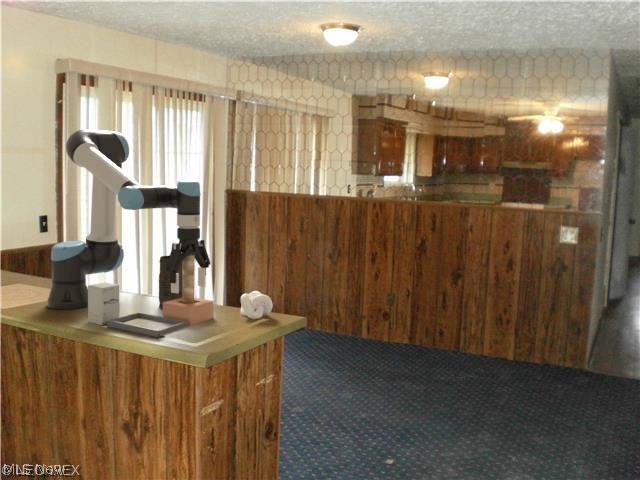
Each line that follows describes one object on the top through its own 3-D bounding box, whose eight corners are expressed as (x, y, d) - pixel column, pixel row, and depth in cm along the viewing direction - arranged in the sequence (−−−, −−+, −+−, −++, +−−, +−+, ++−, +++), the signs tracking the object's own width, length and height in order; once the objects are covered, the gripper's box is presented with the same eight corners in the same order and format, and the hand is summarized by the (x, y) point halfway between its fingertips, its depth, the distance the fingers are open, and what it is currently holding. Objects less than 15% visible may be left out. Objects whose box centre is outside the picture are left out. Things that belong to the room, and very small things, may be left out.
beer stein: (180, 313, 227) (182, 258, 225) (152, 311, 229) (154, 256, 227) (197, 307, 242) (198, 255, 240) (170, 305, 244) (172, 253, 243)
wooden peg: (179, 319, 216) (180, 255, 213) (187, 316, 219) (187, 253, 216) (188, 321, 214) (189, 256, 211) (196, 318, 217) (197, 255, 214)
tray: (107, 327, 206) (107, 320, 206) (138, 319, 218) (138, 311, 218) (157, 338, 195) (157, 330, 195) (188, 328, 208) (188, 321, 207)
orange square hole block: (162, 322, 214) (162, 302, 213) (186, 315, 225) (186, 296, 224) (190, 328, 208) (190, 307, 208) (213, 320, 219) (213, 300, 218)
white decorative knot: (260, 324, 217) (260, 298, 215) (230, 319, 221) (230, 294, 220) (275, 317, 227) (276, 292, 226) (246, 312, 232) (246, 288, 230)
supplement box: (102, 325, 209) (101, 287, 207) (87, 321, 212) (86, 284, 211) (120, 321, 215) (119, 284, 213) (105, 317, 219) (105, 281, 217)
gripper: (171, 231, 200) (171, 297, 202) (220, 225, 221) (220, 284, 224) (153, 229, 203) (154, 294, 206) (203, 223, 225) (203, 282, 228)
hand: (188, 289), depth 215 cm, fingers open, 13 cm apart
